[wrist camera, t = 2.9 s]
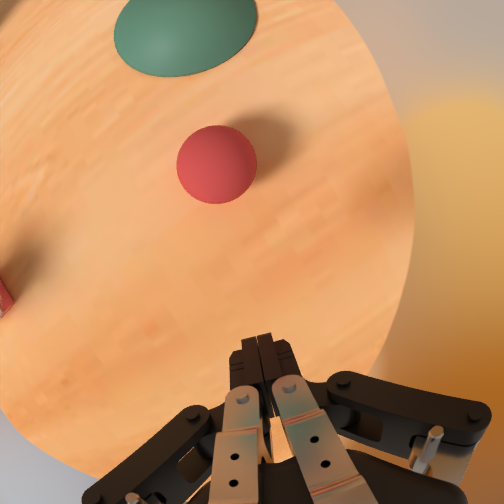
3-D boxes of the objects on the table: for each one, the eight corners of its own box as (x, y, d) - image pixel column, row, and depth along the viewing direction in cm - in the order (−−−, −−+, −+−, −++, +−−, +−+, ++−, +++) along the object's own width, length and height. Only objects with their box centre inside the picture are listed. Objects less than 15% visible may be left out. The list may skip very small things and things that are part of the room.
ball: (176, 142, 23) (160, 131, 17) (244, 125, 23) (249, 109, 17) (192, 208, 24) (181, 218, 18) (260, 191, 24) (270, 195, 19)
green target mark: (111, -3, 17) (111, -4, 17) (239, -36, 18) (239, -37, 17) (122, 97, 21) (121, 96, 21) (272, 58, 21) (272, 58, 21)
